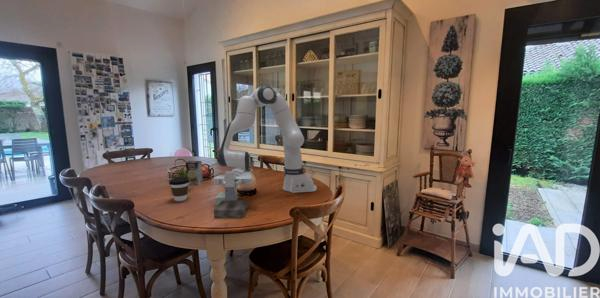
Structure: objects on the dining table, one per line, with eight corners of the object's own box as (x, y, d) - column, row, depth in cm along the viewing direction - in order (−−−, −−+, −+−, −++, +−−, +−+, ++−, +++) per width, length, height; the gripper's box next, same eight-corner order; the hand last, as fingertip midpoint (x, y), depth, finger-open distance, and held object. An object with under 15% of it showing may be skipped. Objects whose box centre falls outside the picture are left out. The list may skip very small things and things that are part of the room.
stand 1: (237, 198, 165) (237, 192, 164) (233, 204, 155) (233, 197, 154) (220, 198, 165) (220, 192, 164) (215, 204, 155) (215, 197, 154)
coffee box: (186, 185, 194) (184, 162, 192) (190, 182, 201) (189, 160, 198) (199, 185, 193) (197, 162, 191) (203, 182, 200) (201, 160, 197)
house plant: (169, 189, 183) (167, 165, 181) (191, 186, 191) (189, 162, 188) (173, 195, 172) (171, 169, 169) (196, 191, 179) (195, 166, 177)
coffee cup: (184, 195, 171) (183, 176, 169) (194, 199, 164) (192, 179, 162) (167, 200, 163) (165, 180, 161) (176, 204, 156) (174, 183, 154)
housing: (236, 197, 144) (235, 171, 142) (234, 200, 140) (233, 173, 138) (227, 197, 144) (226, 171, 142) (225, 200, 140) (224, 173, 138)
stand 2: (248, 207, 150) (247, 200, 149) (243, 217, 136) (242, 209, 136) (222, 207, 150) (221, 200, 149) (214, 217, 136) (214, 210, 135)
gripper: (216, 171, 153) (209, 178, 139) (254, 171, 153) (249, 178, 139) (217, 182, 154) (209, 190, 140) (254, 182, 154) (250, 190, 140)
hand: (230, 184), depth 140 cm, fingers closed on housing, 5 cm apart
